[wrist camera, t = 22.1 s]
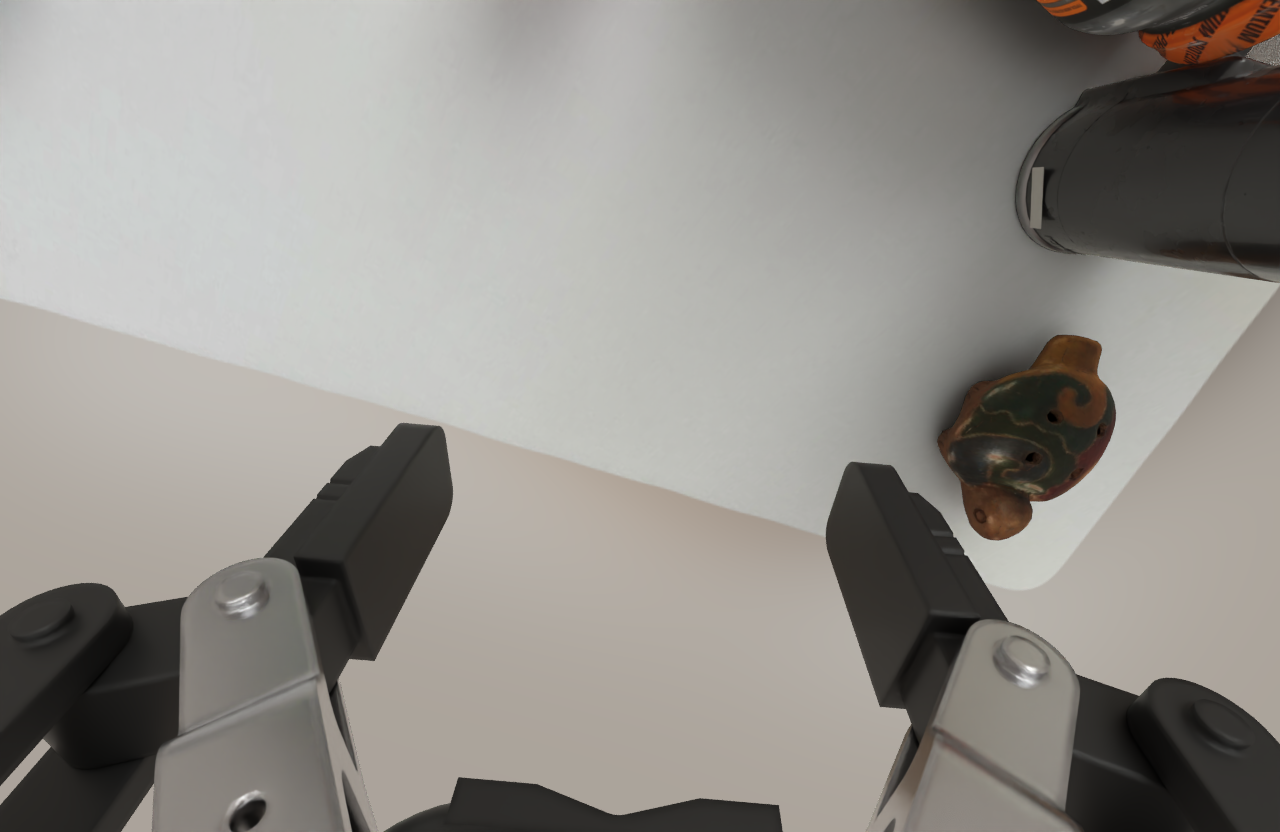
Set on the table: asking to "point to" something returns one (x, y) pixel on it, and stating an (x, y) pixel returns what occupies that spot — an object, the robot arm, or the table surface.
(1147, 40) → the supplement tub
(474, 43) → the table surface
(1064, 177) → the robot arm
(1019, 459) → the decorative turtle
